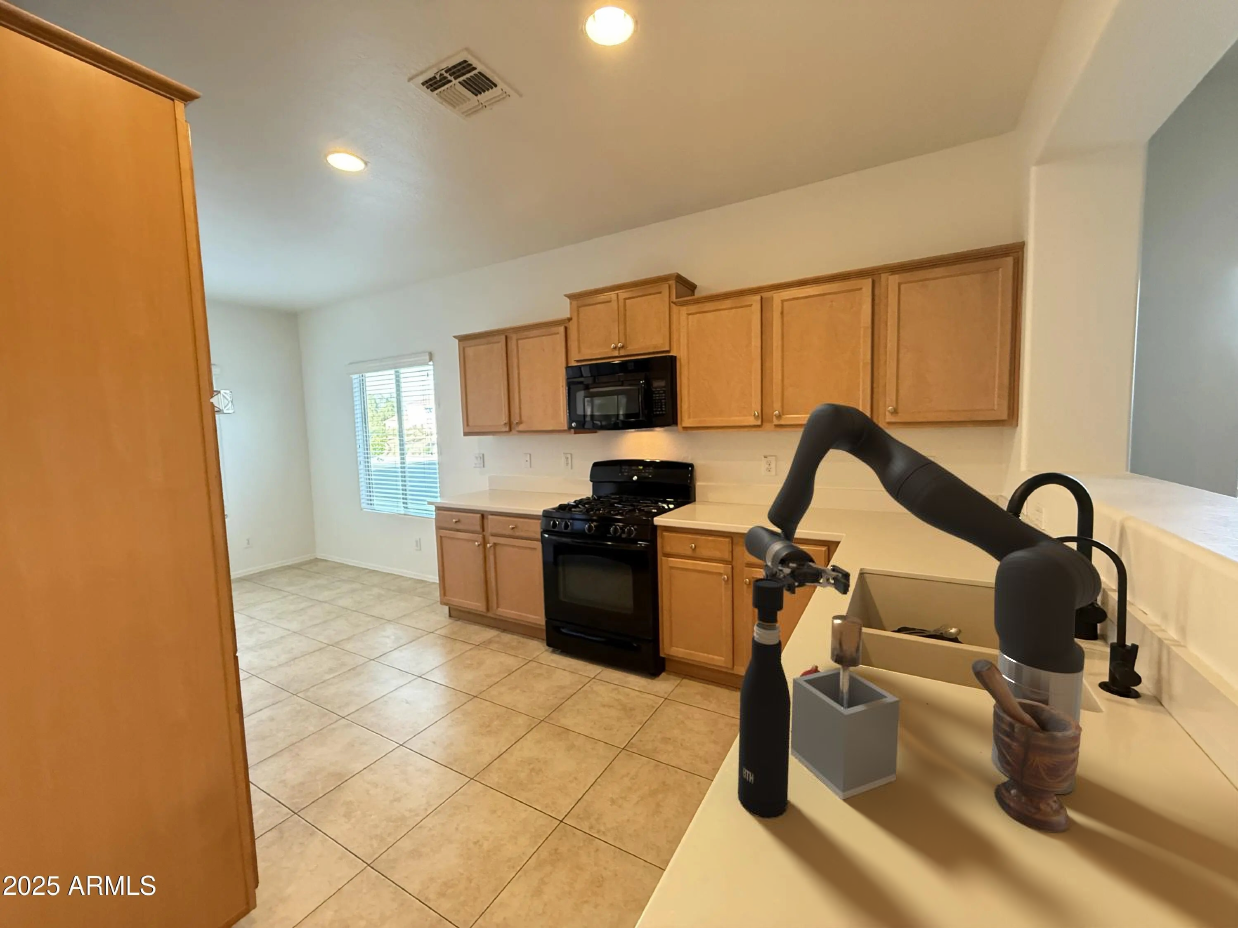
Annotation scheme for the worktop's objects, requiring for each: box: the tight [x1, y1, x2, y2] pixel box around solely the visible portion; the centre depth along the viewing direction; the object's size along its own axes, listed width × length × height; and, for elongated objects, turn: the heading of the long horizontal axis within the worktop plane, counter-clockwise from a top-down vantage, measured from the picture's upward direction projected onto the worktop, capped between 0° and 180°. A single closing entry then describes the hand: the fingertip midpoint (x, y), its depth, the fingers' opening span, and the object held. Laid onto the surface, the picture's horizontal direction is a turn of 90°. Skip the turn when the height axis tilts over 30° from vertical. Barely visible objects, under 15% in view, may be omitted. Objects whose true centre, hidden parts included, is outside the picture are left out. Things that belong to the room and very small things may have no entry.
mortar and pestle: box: [971, 658, 1083, 833], centre depth 63 cm, size 12×9×20 cm
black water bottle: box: [737, 577, 792, 819], centre depth 64 cm, size 6×6×30 cm
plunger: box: [829, 614, 863, 709], centre depth 71 cm, size 7×7×19 cm
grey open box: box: [790, 666, 901, 800], centre depth 71 cm, size 10×10×12 cm
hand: (819, 588), depth 81 cm, fingers open, 8 cm apart
